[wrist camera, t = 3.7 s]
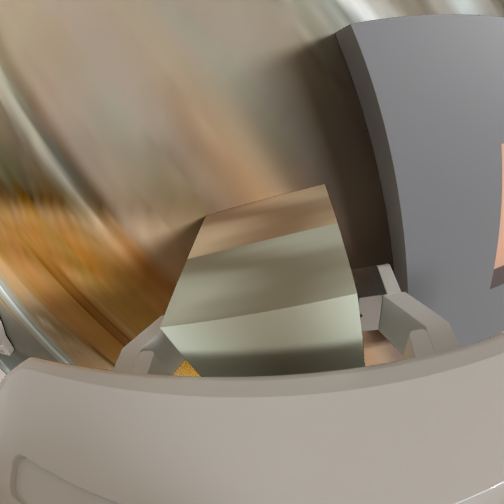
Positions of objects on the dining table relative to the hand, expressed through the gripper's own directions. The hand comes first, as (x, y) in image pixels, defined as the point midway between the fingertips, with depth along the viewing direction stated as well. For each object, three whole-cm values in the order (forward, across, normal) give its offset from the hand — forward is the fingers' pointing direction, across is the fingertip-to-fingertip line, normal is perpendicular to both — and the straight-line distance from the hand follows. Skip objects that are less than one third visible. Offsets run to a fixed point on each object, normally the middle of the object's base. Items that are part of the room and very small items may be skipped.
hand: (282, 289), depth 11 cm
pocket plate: (+2, -13, -2) cm, 13 cm away
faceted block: (+2, 0, 0) cm, 2 cm away
